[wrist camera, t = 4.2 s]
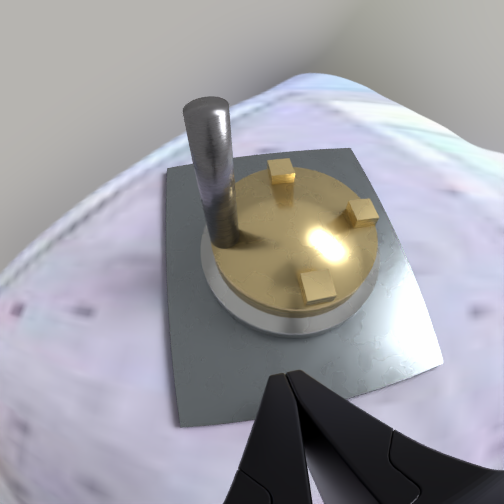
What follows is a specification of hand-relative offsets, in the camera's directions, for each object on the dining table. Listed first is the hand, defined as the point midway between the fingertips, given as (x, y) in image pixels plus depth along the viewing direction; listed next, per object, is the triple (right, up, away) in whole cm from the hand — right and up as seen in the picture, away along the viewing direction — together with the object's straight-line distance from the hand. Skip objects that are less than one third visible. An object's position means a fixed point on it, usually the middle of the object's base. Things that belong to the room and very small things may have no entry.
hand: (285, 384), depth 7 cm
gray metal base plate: (+2, +3, +17) cm, 17 cm away
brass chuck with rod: (+2, +4, +15) cm, 16 cm away
